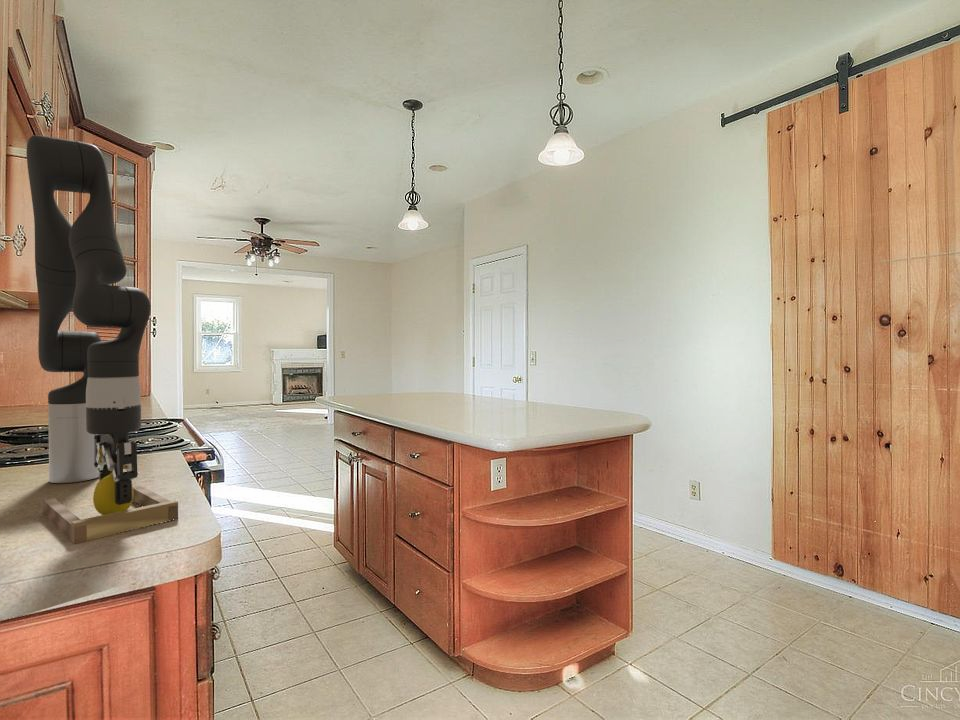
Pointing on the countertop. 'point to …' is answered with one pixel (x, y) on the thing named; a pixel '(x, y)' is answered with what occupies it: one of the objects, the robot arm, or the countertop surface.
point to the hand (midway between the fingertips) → (115, 498)
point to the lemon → (108, 497)
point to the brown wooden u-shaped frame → (112, 516)
